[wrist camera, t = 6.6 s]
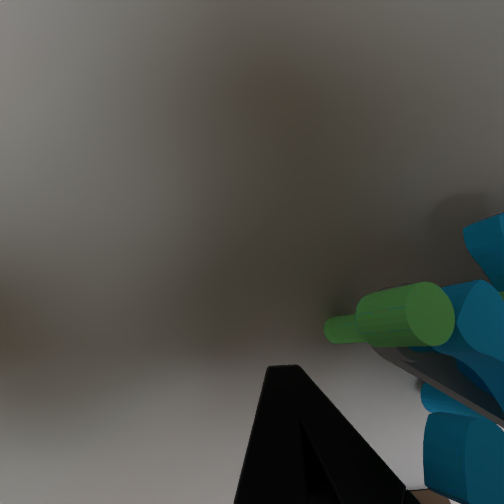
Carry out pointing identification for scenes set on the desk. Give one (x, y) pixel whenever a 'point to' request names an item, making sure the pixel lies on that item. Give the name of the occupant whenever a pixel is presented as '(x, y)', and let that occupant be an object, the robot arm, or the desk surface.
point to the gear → (448, 365)
